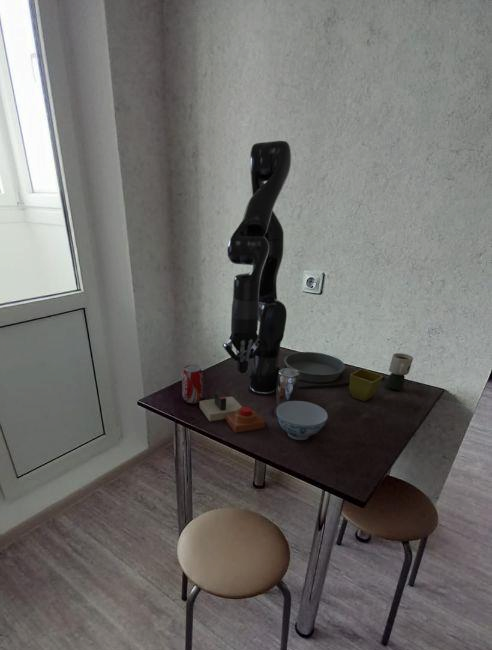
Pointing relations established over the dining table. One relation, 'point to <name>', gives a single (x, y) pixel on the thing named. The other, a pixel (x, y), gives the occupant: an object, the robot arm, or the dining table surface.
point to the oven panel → (214, 412)
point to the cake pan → (315, 366)
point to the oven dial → (220, 401)
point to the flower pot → (364, 384)
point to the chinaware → (301, 418)
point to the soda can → (192, 384)
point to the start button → (245, 411)
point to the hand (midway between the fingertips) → (242, 372)
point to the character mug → (398, 370)
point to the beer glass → (286, 386)
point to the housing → (244, 421)
